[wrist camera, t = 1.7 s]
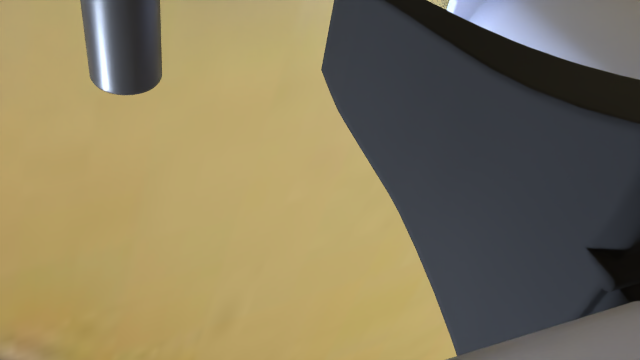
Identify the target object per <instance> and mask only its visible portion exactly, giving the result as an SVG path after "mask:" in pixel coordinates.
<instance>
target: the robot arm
mask: <svg viewBox="0 0 640 360" xmlns="http://www.w3.org/2000/svg"><path fill="white" fill-rule="evenodd" d="M321 70H322V73H323V75H324V78H325V80H326V83H327V86H328V88H329V91H330V93H331V95H332V98H333V100H334V102H335V105H336V107H337V109H338V111H339V113H340V115H341V116H342V118H343V120H344V122H345V123H346V125H347V127H348V128H349V130H350V132H351V133H352V135H353V137H354V138H355V140H356V142H357V143H358V145H359V146H360V148H361V150H362V151H363V153H364V154H365V156H366V158H367V159H368V161H369V163H370V164H371V166H372V167H373V169H374V171H375V172H376V174H377V175H378V177H379V179H380V180H381V182H382V184H383V185H384V187H385V188H386V190H387V192H388V193H389V195H390V197H391V199H392V201H393V202H394V204H395V206H396V208H397V210H398V212H399V214H400V216H401V218H402V220H403V222H404V224H405V227H406V229H407V231H408V233H409V235H410V237H411V240H412V242H413V244H414V246H415V248H416V250H417V253H418V255H419V258H420V260H421V262H422V265H423V267H424V269H425V272H426V274H427V277H428V279H429V281H430V284H431V286H432V288H433V291H434V293H435V296H436V299H437V301H438V304H439V307H440V309H441V312H442V315H443V317H444V320H445V323H446V325H447V328H448V331H449V333H450V336H451V339H452V342H453V345H454V348H455V351H456V354H457V356H456V357H453V358H450V359H446V360H640V0H450V1H449V4H448V7H447V10H445V9H443V8H441V7H439V6H437V5H435V4H433V3H431V2H429V1H427V0H334V5H333V10H332V15H331V21H330V26H329V32H328V37H327V42H326V48H325V53H324V58H323V64H322V69H321Z"/></svg>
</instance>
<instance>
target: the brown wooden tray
mask: <svg viewBox="0 0 640 360" xmlns="http://www.w3.org/2000/svg"><path fill="white" fill-rule="evenodd" d="M80 1H81V9H82V17H83V25H84V33H85V41H86V49H87V57H88V65H89V73H90V78H91V80H92V81H93V83H94V84H95V85H96V86H97V87H98V88H100V89H101V90H104V91H106V92H109V93H112V94H117V95H135V94H140V93H144V92H146V91H149V90H151V89H153V88H154V87H155V86H156V85H157V84H158V83H159V82H160V80H161V77H162V56H161V20H160V0H80Z"/></svg>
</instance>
